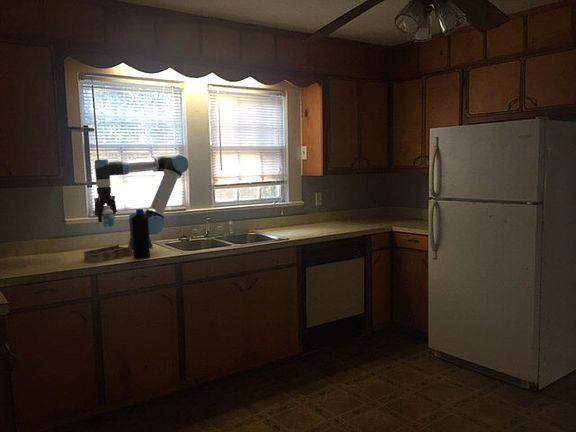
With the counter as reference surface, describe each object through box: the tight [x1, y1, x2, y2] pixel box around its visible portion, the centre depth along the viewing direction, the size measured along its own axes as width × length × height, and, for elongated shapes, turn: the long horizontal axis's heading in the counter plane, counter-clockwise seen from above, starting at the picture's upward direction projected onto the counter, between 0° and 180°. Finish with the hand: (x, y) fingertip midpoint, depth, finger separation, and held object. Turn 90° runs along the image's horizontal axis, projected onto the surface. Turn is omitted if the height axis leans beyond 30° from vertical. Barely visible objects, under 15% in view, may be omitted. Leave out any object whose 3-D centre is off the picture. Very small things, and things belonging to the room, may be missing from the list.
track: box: [83, 244, 134, 263], centre depth 286 cm, size 24×13×5 cm, turn 151°
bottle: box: [132, 208, 151, 260], centre depth 283 cm, size 9×9×28 cm
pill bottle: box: [100, 205, 115, 231], centre depth 282 cm, size 8×7×14 cm
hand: (107, 226), depth 283 cm, fingers closed on pill bottle, 7 cm apart
